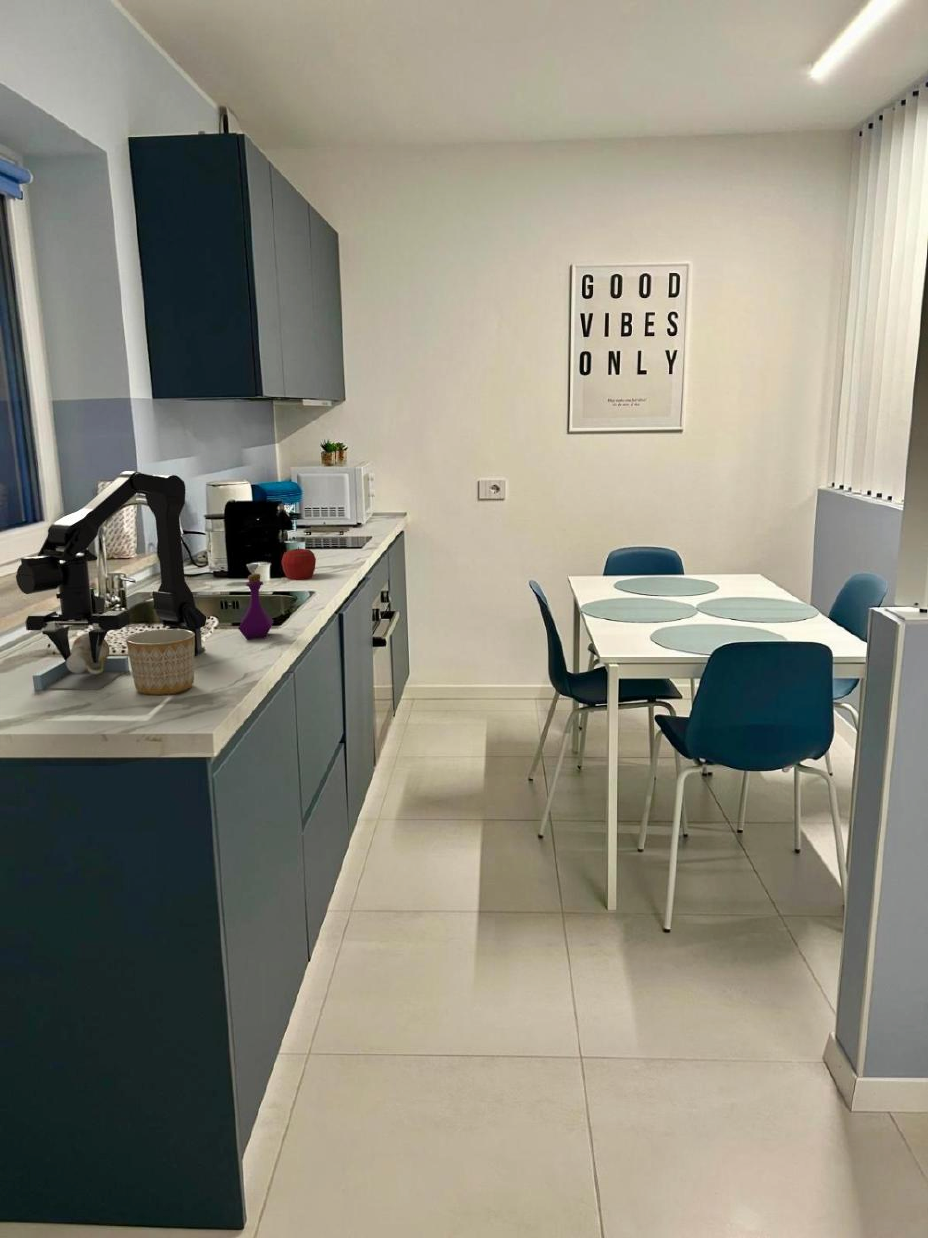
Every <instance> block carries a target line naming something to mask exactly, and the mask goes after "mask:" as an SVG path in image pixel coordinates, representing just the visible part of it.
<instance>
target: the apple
mask: <svg viewBox="0 0 928 1238" xmlns="http://www.w3.org/2000/svg"><path fill="white" fill-rule="evenodd" d="M316 561H317V559H316V555H315V553H314V552H313V551H312V550H310V549H307V548H300V547H299V546H298V547H297V548H293V549H290V550H287V551H285V552H284V554H283V555H282V558H281V567H282V571H283V573H284V575H285V576H286V579H288V580H289V581H305V580H309V579H312V577H313V575H314V573H315V570H316Z"/></svg>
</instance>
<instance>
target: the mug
mask: <svg viewBox="0 0 928 1238" xmlns="http://www.w3.org/2000/svg"><path fill="white" fill-rule="evenodd" d="M110 652H111V649H110V645H109V643H108V641H107V640H106V638H104V641H103V644H102V647H101V651H100V655H99V659H98V662H97V663H94V662H93V659H92V654H91V647H90V640H89V633H88V632H86V633H83V634H81V635H79V636H78V637H77V638H76V639H75V640H74V642H73V644H72V646H71V648H70V653H71V655H70V656H69V658H68V659H67V661H66V666H67V668H68V669H69V670H70V671H71V672H73V673H76V674H79V673H82V672H84V671H85V670H87V671H88V672H89V673H90V674H99V673H101V672H103V670H104V662H105V661H106V659H107V658H108V657H109V655H110ZM98 666H100V669H99V670H93V669H92V668H95V667H98Z"/></svg>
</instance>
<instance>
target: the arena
mask: <svg viewBox="0 0 928 1238" xmlns="http://www.w3.org/2000/svg"><path fill="white" fill-rule="evenodd" d="M92 669H93V670H99V669H100V666H98V667H95V668H92ZM85 671H87V670H85ZM103 671H124V673H127V672H129V671H130V667H129V657H128V656H108V658H107V659H106V661H105V662H104V670H103ZM70 673H72V672H71V671H70V670H69V669H68V668H67V666H66V661H65V660H64V658H63V657H62V659H60V660H58V661H56V662H53V664H51V665H49V666H47V667H45V668H43V669H41V670H40V671H38V672H36V673H35V674H33V675H32V683H33V690H34V691H43V690H46V687H48V686H50V685H52V684H53V683H55V682H57V681H58V680H60V679H62V678H63V677H65V676H67V675H68V674H70Z"/></svg>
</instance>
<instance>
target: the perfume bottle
mask: <svg viewBox="0 0 928 1238" xmlns="http://www.w3.org/2000/svg"><path fill="white" fill-rule="evenodd" d="M246 567H247V570H248V571H249V573H250V574H249V575H248V576H247V578H248V581H247V582H246V583H245V585H246V586H247V587H248V589H249V590H250V599H249V600H250V603H249V606H248V609H247V611H246V613H245V615H244V617H243V618H242V620H241V622H240V624H239V625H238V629H237V630H239V631H240V633H241V634H242V636H243V638H245V639H246V640H254V639H256V640H257V639H266V638H267V636H268V634H269V632H270V630H271V628H272V627H273V624H274V619H272V618H271V616H269V615H268V614H267V612H266V611H265V610H264V608H263V607H262V604H261V601H260V589H261V586H263V585H264V582H263V581H261V574H260V573H255V571H256V570H257V568H258V567H259V564H257V563H247V564H246Z"/></svg>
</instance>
